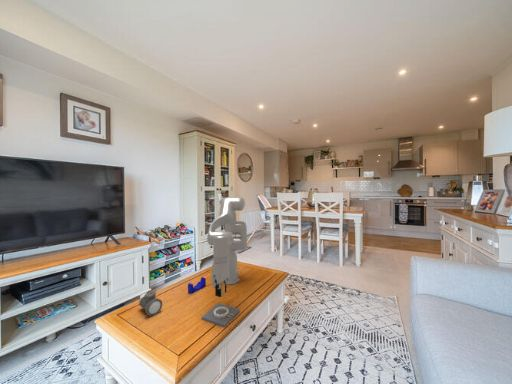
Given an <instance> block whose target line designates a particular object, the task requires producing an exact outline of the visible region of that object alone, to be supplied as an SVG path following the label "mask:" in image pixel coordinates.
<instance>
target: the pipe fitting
mask: <svg viewBox="0 0 512 384" xmlns="http://www.w3.org/2000/svg"><path fill="white" fill-rule="evenodd" d="M156 295H157V291H155V290H151V291H148V292H146V293H145V294H144V296H142V297H141V299H140V300H139V304H138V305H139V306H140V307H141V308H142V309H144V311H145V313H146V314H147V316H150V317H154V316H156V315H158V314H159V313H160V311H161V310H162V308H163V301H162V300H161V299H159V298H156Z"/></svg>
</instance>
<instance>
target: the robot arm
mask: <svg viewBox="0 0 512 384" xmlns="http://www.w3.org/2000/svg"><path fill="white" fill-rule="evenodd" d="M245 204H246V202H245V198H244V197H240V196H239V197H237V196H236V197H233V196H232V197H231V196H229V197H227V196H226V197H221V199H220V201H219V205H220V208H219V212H218V213H219V215H218V216H217V217H216V218H214V220H213V221H212V222H211V223H210V225H209V228H208V231H207V235H206V237H207V239H206V241H207V244H208V245H209V246H213V251H212V253H213V258H212V259H213V260H212V261H213V262H212V264H211V275H210V282H211V284H210V285H211V287H213V288H214V291H215V293H214V294H215V297H217V296H218V297H217V298H222V297H221V289H220V286H221V282H223V281H224V283H225V294H226V293H227V285H235V284H237V283H239V282H240V277H239V276H238V275H239V274H240V272H241V271H239V270H238V254H237V253H236V252H235V251H245V250H246V249H247V246H248V243H247V242H248V240H247V239H248V229H247V223H246V222H245V221H242V220H241V221H240V220H239V221H237V213H236V212H237V211H238V212H239V211H240V212H241V211H243V210H244V209H245ZM235 211H236V212H235ZM223 226H224V231H223V230H222V231H220V230H219V231H218V230H217V229H219V228H220V227H223ZM216 230H217V231H216ZM234 235H235V236H234ZM236 235H237V236H236ZM217 284H218V285H217Z"/></svg>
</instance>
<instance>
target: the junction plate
mask: <svg viewBox="0 0 512 384" xmlns="http://www.w3.org/2000/svg"><path fill="white" fill-rule="evenodd" d="M239 313H240V308H237V307H233V306H230V305H226V304H223V303H220V302H218V303H216V305H214V306H213V307H212V308H210V309H209V310H208V311H207V312H206V313H205V314H203V315H202V316H201V320H202V321H205V322H207V323H210V324H212V325H213V324H214V325H216V326H219V327H221V326H222V328H224V327H225V326H226V325H227V324H228V323H229V324H230V323H231V321H232V320H233V319H234V318H236V316H237V315H239ZM229 324H228V325H229ZM228 325H227V326H228ZM227 326H226V327H227ZM226 327H225V328H226Z"/></svg>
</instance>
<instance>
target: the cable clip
mask: <svg viewBox="0 0 512 384" xmlns="http://www.w3.org/2000/svg"><path fill="white" fill-rule="evenodd" d="M206 280H207V279H206V277H204V276H201V277H200V281H198V282H197V283H196V285H194V284H193V283H191V282H188V283H187V294H189V295H193V294H195V293H196V292H198V291H200V290H202V289H204V288H205V287H206V286H207V285H206V284H207V281H206Z"/></svg>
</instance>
